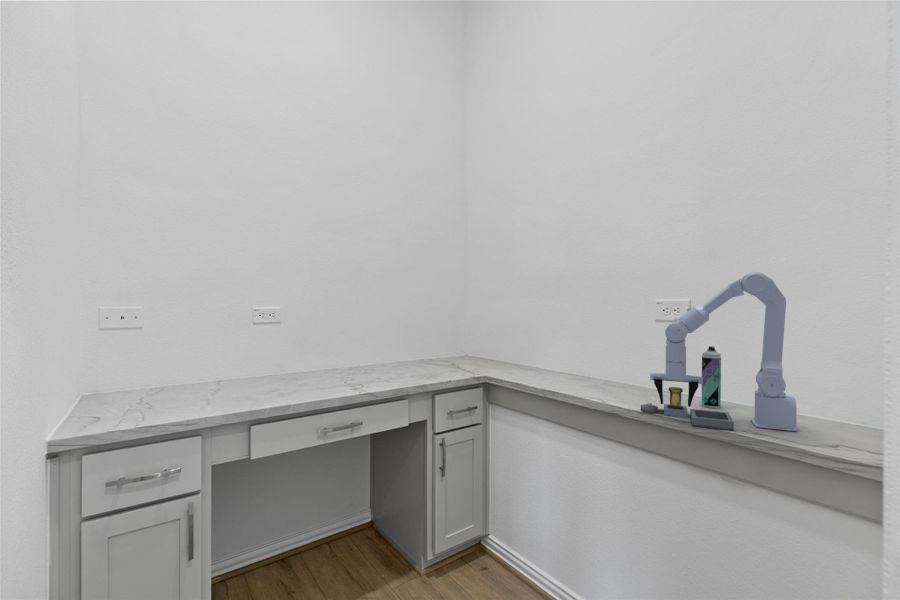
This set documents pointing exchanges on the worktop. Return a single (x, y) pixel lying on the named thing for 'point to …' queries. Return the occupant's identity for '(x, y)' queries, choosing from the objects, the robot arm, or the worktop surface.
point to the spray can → (711, 378)
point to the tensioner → (665, 410)
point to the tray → (711, 419)
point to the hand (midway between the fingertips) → (675, 404)
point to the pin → (675, 397)
